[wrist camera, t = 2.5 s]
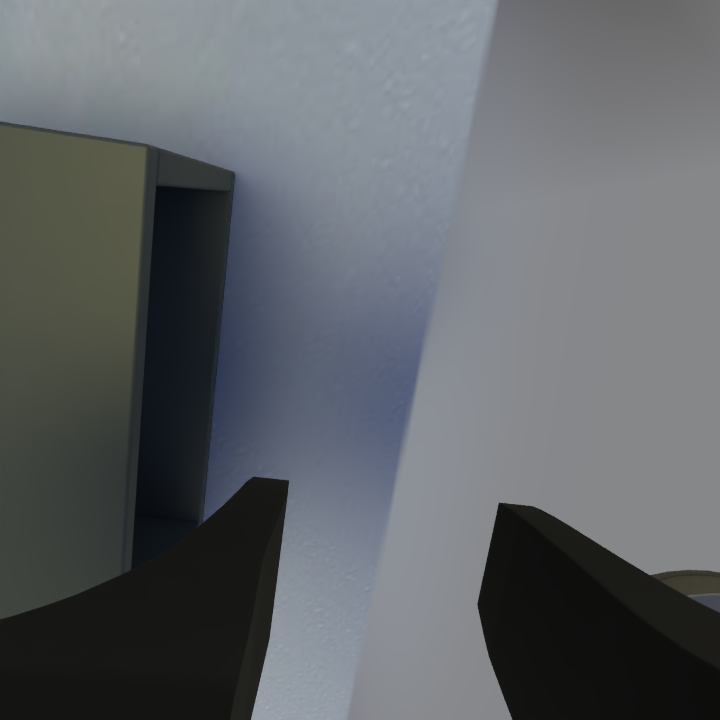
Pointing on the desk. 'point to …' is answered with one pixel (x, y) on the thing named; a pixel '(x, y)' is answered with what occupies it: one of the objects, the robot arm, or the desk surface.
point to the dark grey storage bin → (103, 355)
